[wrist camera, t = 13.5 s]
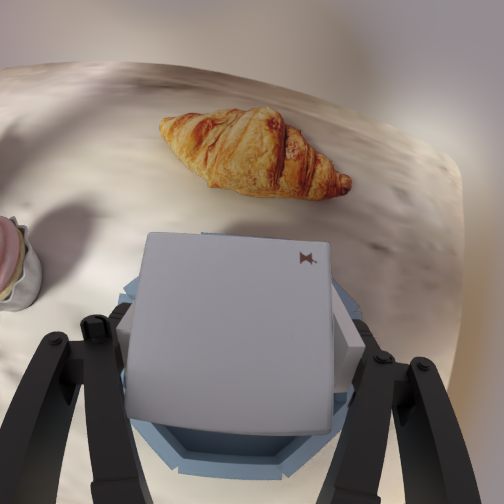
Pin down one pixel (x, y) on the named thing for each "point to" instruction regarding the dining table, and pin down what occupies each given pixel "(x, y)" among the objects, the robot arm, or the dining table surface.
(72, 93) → the dining table surface
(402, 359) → the dining table surface
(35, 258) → the cupcake
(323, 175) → the croissant
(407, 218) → the dining table surface
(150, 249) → the supplement box
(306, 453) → the octagonal dish
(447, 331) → the dining table surface
